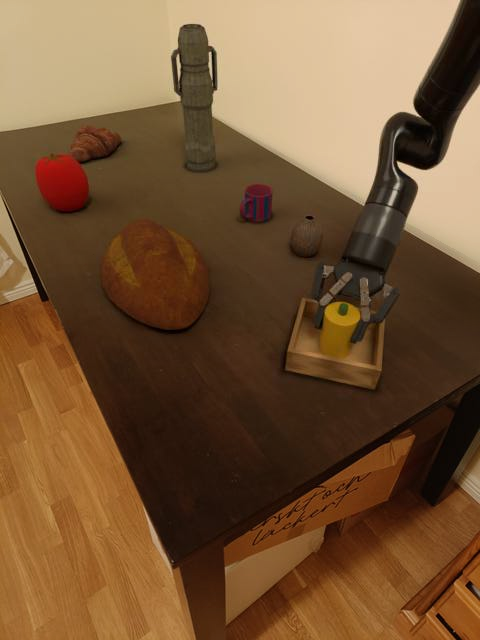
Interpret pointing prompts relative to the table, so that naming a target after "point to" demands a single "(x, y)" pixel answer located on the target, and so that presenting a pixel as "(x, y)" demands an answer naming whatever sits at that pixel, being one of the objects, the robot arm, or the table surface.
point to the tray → (351, 370)
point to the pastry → (93, 143)
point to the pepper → (338, 329)
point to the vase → (307, 236)
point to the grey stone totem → (196, 94)
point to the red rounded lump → (62, 182)
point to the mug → (257, 203)
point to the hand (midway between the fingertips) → (335, 335)
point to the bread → (155, 275)
